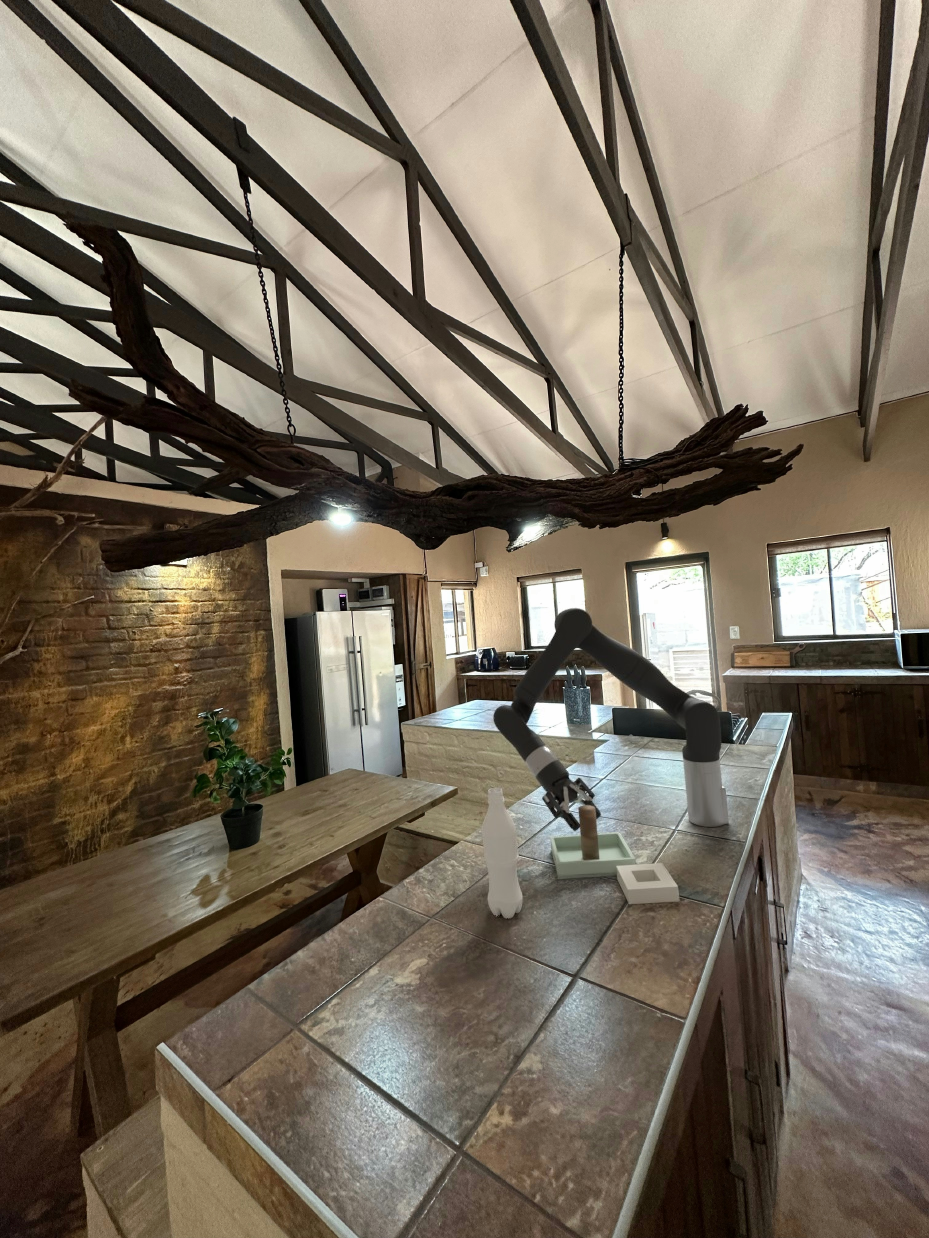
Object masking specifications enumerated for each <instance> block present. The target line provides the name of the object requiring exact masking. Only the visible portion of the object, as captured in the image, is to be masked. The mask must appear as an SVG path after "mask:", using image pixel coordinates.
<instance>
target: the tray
mask: <svg viewBox="0 0 929 1238" xmlns="http://www.w3.org/2000/svg"><path fill="white" fill-rule="evenodd" d="M597 834H598V846H599V858H600V859H598V860H583V858H582V847H581V835H580V834H570V835H557V836H549V840H550V849H551V855H552V858H553V863H554V867H555V870H556V874H557V878H558V880H569V879H582V878H586V879H587V878H598V877H599V878H600V877H614V876H616V877H617V870H616V866H623V865H637V859H636V857H635V855H634V853H633V852H632V850H631V848H630V846H629V845H628V844H627V842H626V840H625V839H624V837H623V835H622V834H621V833H620V832H619V831H618V832H617V831H616V832H613V831H612V832H600V833H598V832H597Z"/></svg>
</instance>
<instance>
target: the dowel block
mask: <svg viewBox="0 0 929 1238" xmlns="http://www.w3.org/2000/svg"><path fill="white" fill-rule="evenodd" d="M616 870H617V876H616V879H617V882H618V884H619V885H620V887H621V890H622V891H623V894H624V896H625V898H626V901H627V903H628V904H629V905H639V904H657V903H672V902H673V903H674V902H675V903H677V902H680V895H679V893H680V892H679V886H678V884H677V883H676V882H675V880H674V879H673V877H672V876H671V874H670V873H669V871H668V870H667V869H666V867H665V865H664V864H663V863H662V862H658V863H642V864H641V863H640V864H636V865H623V866H616Z"/></svg>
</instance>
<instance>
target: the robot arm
mask: <svg viewBox="0 0 929 1238" xmlns="http://www.w3.org/2000/svg"><path fill="white" fill-rule="evenodd" d="M554 619H555V620H554V630H555V631H554V634H553V636H552V638H551V639H550V641H549V643H548V644H547V645H546V648H545V649H544V650H543V651H542V652H541V654H540V655H539V656H538V657H536V660H535V661H534V662H533V663H532V664H531V665H530V666H529V668H528V669H527V671H526V672H524V674H523V676H522V678H521V679H520V681H518V683H517V685H516V687H515V688H514V690H513V696H514V699H513V700H512V703H511V704H510V705H509V704H506V705H505V704H504V705H500V706H498V707H497V708H496V709H495V711H494V712H493V719H492V720H493V724H494V725H495V727H496V729H497V730H498V732H500V733H501V735H502V736H503V737H504V738H505V739H506V740H507V741H508V743H510V744H511V745H512V746H513V748H514V749H515V750H516V752H517V753H518V754H519V756H520V757H521V759H522V760H523V761H524V762H525V764H526V766H527V767H528V769H529V771H530V773H531V774H532V775H533V776H534V778H535V779H536V780H537V782H538V783H539V784H540V786H541V788H543V790H544V791H545V794H544V795H543V796H542V801H543V802H544V804H545V806H546V807H547V809H548V810H549V812H550V813H551V815H553V818H555V819H559V818H561V819H563V820H564V821H565V823H566V824H567V825H568V826H569V827H570V829H571V830H573V831H574V832H576V831H578V830H580V823H579V821H578V820H577V818H576V817H575V816H574V814H573V813H572V812H571V811H570V806H569V805H570V804H573V803H576V804H581V806H583V805H590V806H594V807H595V810H596V820H598V819H599V818H600V817H601V816H602V814H601V811H600V809H599V808H598V807H597V806H596V804H595V803H594V802H593V800H594V799H595V796H596V795H595V793H594V792H593V791H592V789H590V788H589V786H588V785H587V784H586V783H585V782H584V780H583V779H582V778H581V777H577V778H576V779H575V780H574V781H573V780H572V779H570V773H569V771H568V770H567V768H566V767H565V766H564V765H563V763H562V762H561V761H560V760H559V758H558V757H557V755H556V754H554V752H553V751H552V750H551V749H550V748H549V747H548V746H547V745H546V743H544V741H543V740H542V739H541V737H540V736H539V734H538V733H536V732H535V731H534V730H532V729H531V728H530V727H529V726H528V725H527V724H528V722H529V721H530V718H531V716H532V714H533V712H534V709H535V706H536V704H537V703H538V702H539V700H540V699H541V697H542V695H544V693H545V691H546V689H547V688H548V686H549V685H550V684H551V682H552V681H553V679H554V677H555V676H556V674H557V673H558V671H559V670H560V669H561V667H562V665H563V664H564V663H565V662H566V661H567V659H568V658H569V656H571V654H572V653H573V652H574V650H576V648H578V649H579V650H581V651H583V652H584V653H586V654H588V655H589V656H590V657H591V658H593V659H594V660H595V661H596V662H597V663H598V664H599V665H600V666H601V667H602V668H603V669H605V670H606V671H608V673H610V674H611V675H612V676H613V677H615V678H616V679H617V680H618V681H620V682H621V683H623V684H624V685H626V686H627V687H628V688H630V689H631V690H632V691H634V692H636V693H637V694H638V695H640V696H642V697H644V698H645V699H647V700H648V701H650V702H651V703H654V704H656V705H657V706H658V707H660V709H662V710H663V711H664V712H665V713H666V714H667V715H668V716H670V717H671V718H672V719H673V720H674V721H675V722H676V723H677V724H678V725H679V726H680V727H681V728H683V729H684V730H685V736H686V737H685V743H686V744H685V745H683V747H682V749H681V753H682V762H683V773H684V783H685V784H684V785H685V794H686V795H685V796H686V805H687V815H688V821H689V822H691V823H692V824H693V825H696V826H700V827H705V828H707V827H709V828H714V827H715V828H716V827H721V826H724V825H727V824H730V821H729V820H730V818H729V810H728V799H727V790H726V789H727V788H726V786H723V780H722V779H723V778H722V768H721V758H720V751H721V749H722V729H721V728H722V727H721V719H720V714H719V712H718V710H717V708H716V707H715V706H714V705H713V704H712V703H710V702H708V701H705V700H703V699H699V698H697V697H694V696H693V695H690V694H689V693H688V692H685V691H683V690H682V689H681V688H679V687H678V686H676V685H675V684H673V683H672V682H671V681H670V680H669V679H668V678H667V677H666V676H665V675H664V673H662V671H661V670H660V669H659V668H658V667H657V666H656V665H655V664H654V663H653V662H651V661H650V660H649V659H648V658H646V657H645V656H643V655H642V654H641V653H640V652H638V651H637V650H634V649H633V648H631V647H630V646H627V645H625V644H624V643H622V642H620V641H618V640H616V639H614V638H612V637H610V636H608V635H606V634H605V633H604V632H602V631H601V630H599V629H598V628H597V627H596V626H594V625H593V620H592V617H591V615H590V614H589V612H587V611H586V610H584V609H583V608H577V607H572V608H567V609H564V610H562V611H561V612H559V613H558V614H557V615H556V617H555V618H554Z"/></svg>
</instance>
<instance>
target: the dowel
mask: <svg viewBox="0 0 929 1238" xmlns="http://www.w3.org/2000/svg"><path fill="white" fill-rule="evenodd" d="M577 809H578V820H579V821H578V822H579V824H580V828H579V833H580V834H579V835H581V847H582V858H583V860H598V859H600V858H599V846H598V825H597V819H596V810H595V807H594V806H590V805H580V806H578V808H577Z"/></svg>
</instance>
